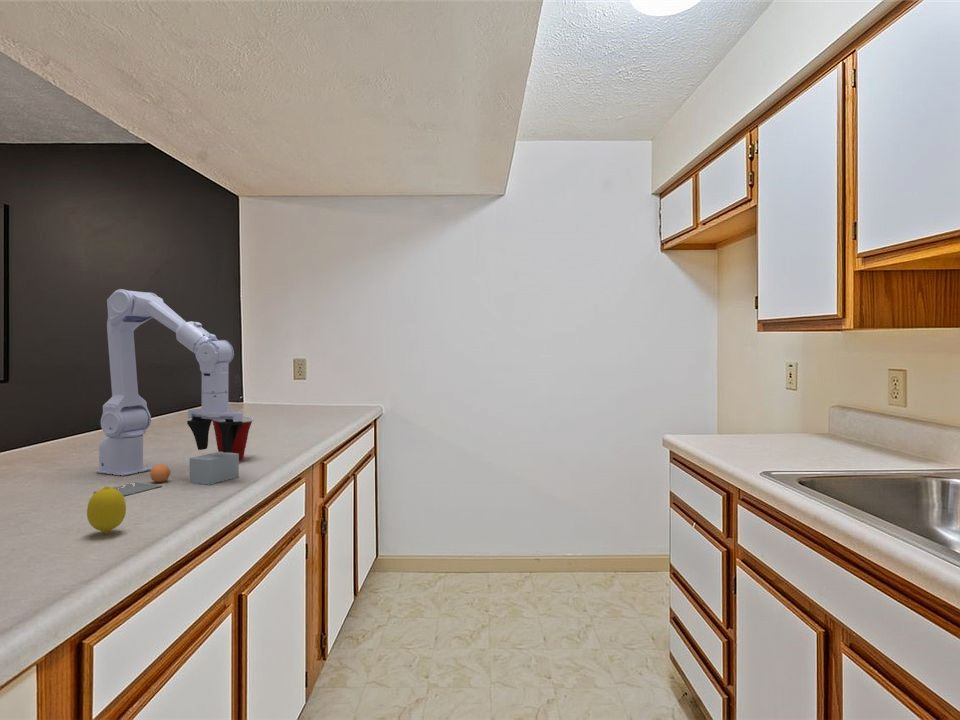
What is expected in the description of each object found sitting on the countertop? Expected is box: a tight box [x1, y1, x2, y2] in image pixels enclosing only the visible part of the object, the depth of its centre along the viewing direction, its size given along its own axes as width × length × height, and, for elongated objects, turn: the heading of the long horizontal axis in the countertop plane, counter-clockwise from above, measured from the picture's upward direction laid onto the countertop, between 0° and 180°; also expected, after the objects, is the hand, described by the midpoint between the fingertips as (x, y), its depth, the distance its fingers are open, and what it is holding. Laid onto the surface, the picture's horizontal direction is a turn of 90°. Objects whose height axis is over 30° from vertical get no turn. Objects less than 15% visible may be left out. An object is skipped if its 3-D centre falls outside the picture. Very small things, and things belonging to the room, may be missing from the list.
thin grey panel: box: [93, 481, 161, 497], centre depth 129 cm, size 8×10×1 cm
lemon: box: [86, 485, 127, 535], centre depth 100 cm, size 6×6×8 cm
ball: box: [149, 464, 171, 483], centre depth 137 cm, size 4×4×4 cm
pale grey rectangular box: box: [188, 451, 240, 486], centre depth 140 cm, size 6×9×6 cm, turn 159°
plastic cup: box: [210, 415, 255, 462], centre depth 162 cm, size 11×11×12 cm
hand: (215, 450), depth 140 cm, fingers open, 7 cm apart
